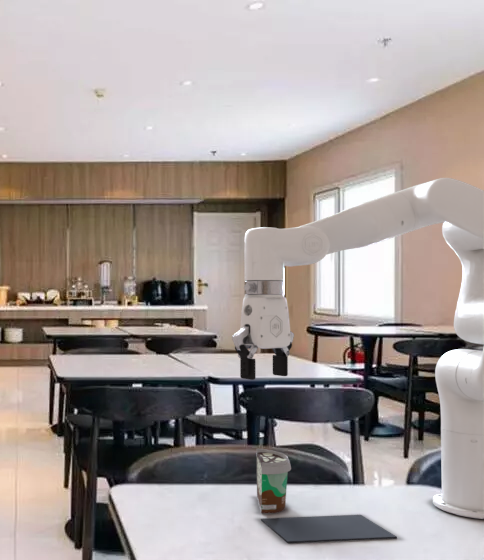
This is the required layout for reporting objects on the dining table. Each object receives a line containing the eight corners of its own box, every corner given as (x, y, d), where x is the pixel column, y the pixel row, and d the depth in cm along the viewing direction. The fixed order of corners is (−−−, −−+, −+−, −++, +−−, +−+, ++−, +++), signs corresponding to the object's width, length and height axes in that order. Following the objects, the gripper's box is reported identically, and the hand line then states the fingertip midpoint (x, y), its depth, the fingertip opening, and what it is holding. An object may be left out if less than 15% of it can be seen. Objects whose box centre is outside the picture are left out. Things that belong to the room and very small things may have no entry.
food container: (295, 518, 118) (295, 465, 118) (262, 515, 119) (261, 463, 119) (286, 497, 130) (286, 449, 130) (256, 495, 131) (256, 448, 131)
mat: (360, 516, 119) (360, 514, 119) (397, 538, 108) (397, 536, 108) (260, 520, 117) (260, 518, 117) (287, 543, 106) (287, 541, 106)
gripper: (250, 289, 115) (250, 382, 114) (307, 290, 124) (307, 376, 124) (219, 290, 121) (219, 378, 120) (276, 290, 131) (276, 372, 130)
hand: (264, 377), depth 122 cm, fingers open, 9 cm apart
